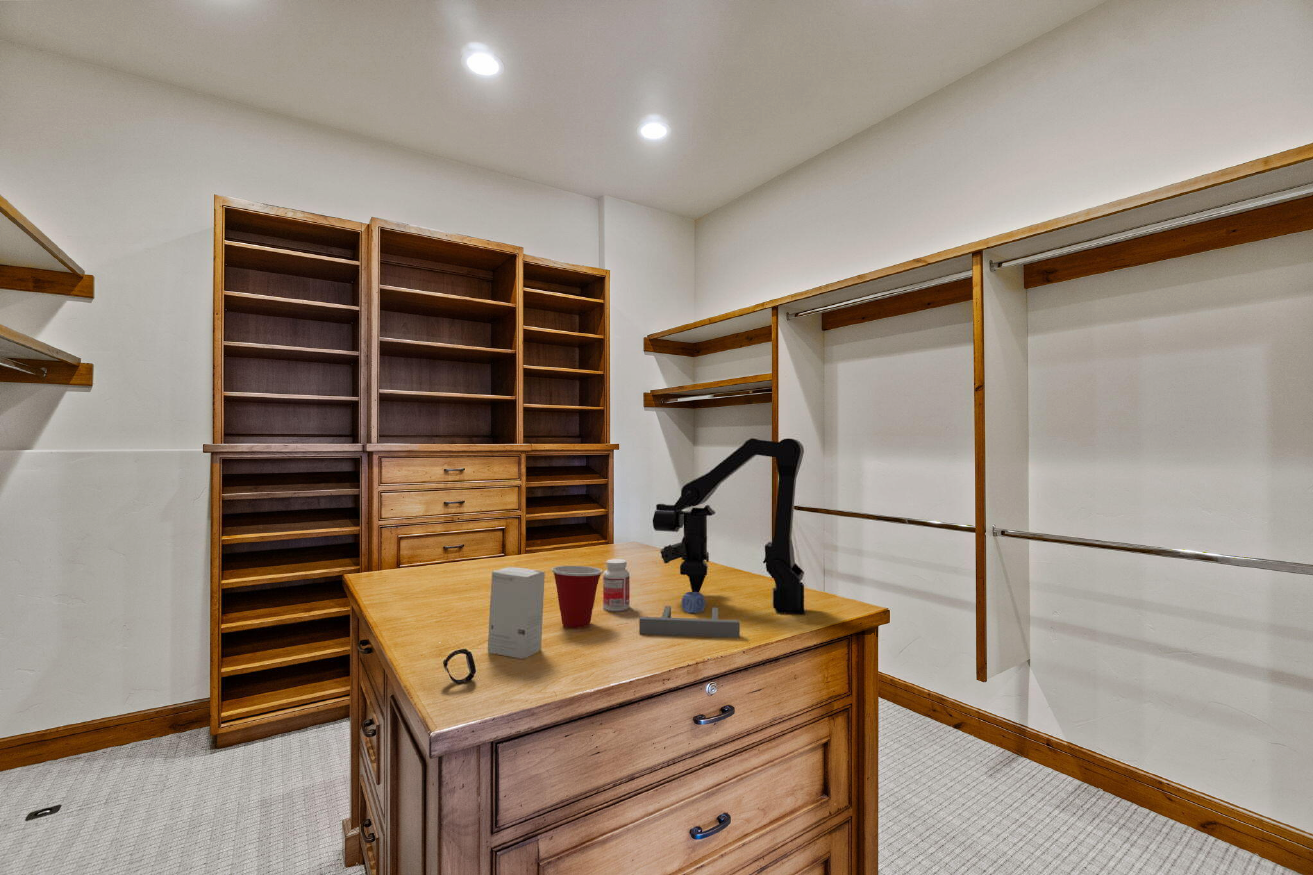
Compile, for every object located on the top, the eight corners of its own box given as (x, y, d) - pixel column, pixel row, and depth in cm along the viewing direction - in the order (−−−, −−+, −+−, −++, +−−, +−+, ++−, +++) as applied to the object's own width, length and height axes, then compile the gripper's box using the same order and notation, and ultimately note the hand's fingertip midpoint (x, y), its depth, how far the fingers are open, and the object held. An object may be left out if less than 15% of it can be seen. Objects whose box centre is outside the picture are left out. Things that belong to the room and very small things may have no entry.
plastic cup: (613, 624, 120) (613, 567, 120) (573, 636, 112) (573, 575, 112) (580, 613, 127) (581, 560, 128) (540, 624, 119) (541, 567, 120)
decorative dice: (693, 607, 133) (693, 590, 133) (705, 611, 130) (705, 594, 130) (681, 611, 130) (681, 593, 130) (693, 614, 127) (693, 597, 127)
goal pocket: (738, 622, 121) (738, 608, 121) (739, 637, 111) (739, 622, 111) (645, 618, 124) (646, 605, 124) (639, 633, 114) (639, 618, 114)
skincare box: (486, 653, 102) (487, 571, 103) (507, 643, 108) (508, 565, 108) (525, 660, 99) (526, 575, 100) (544, 649, 105) (545, 568, 105)
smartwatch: (473, 686, 88) (473, 654, 88) (439, 687, 88) (440, 655, 88) (479, 675, 92) (480, 645, 93) (447, 676, 92) (447, 646, 92)
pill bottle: (619, 603, 136) (619, 557, 137) (634, 608, 132) (635, 561, 132) (597, 607, 132) (598, 560, 133) (612, 613, 128) (613, 564, 128)
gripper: (666, 527, 149) (666, 586, 149) (658, 538, 130) (658, 606, 130) (708, 527, 148) (708, 587, 147) (706, 539, 129) (706, 607, 129)
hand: (695, 596), depth 138 cm, fingers closed
